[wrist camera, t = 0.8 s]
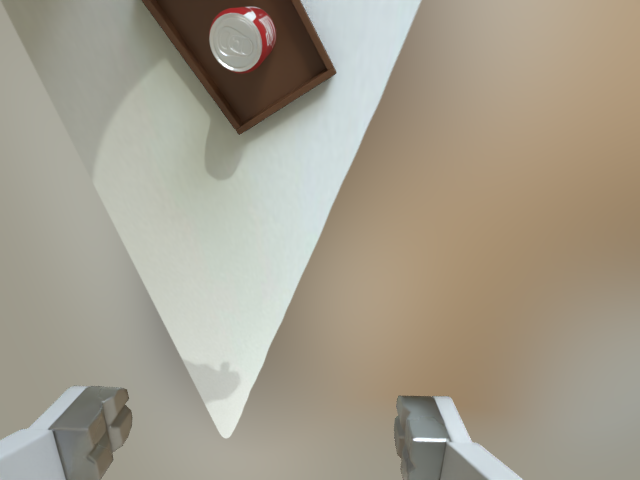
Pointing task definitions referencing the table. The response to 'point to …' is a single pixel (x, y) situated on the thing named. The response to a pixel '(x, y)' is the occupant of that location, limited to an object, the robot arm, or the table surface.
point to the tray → (265, 81)
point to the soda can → (242, 38)
